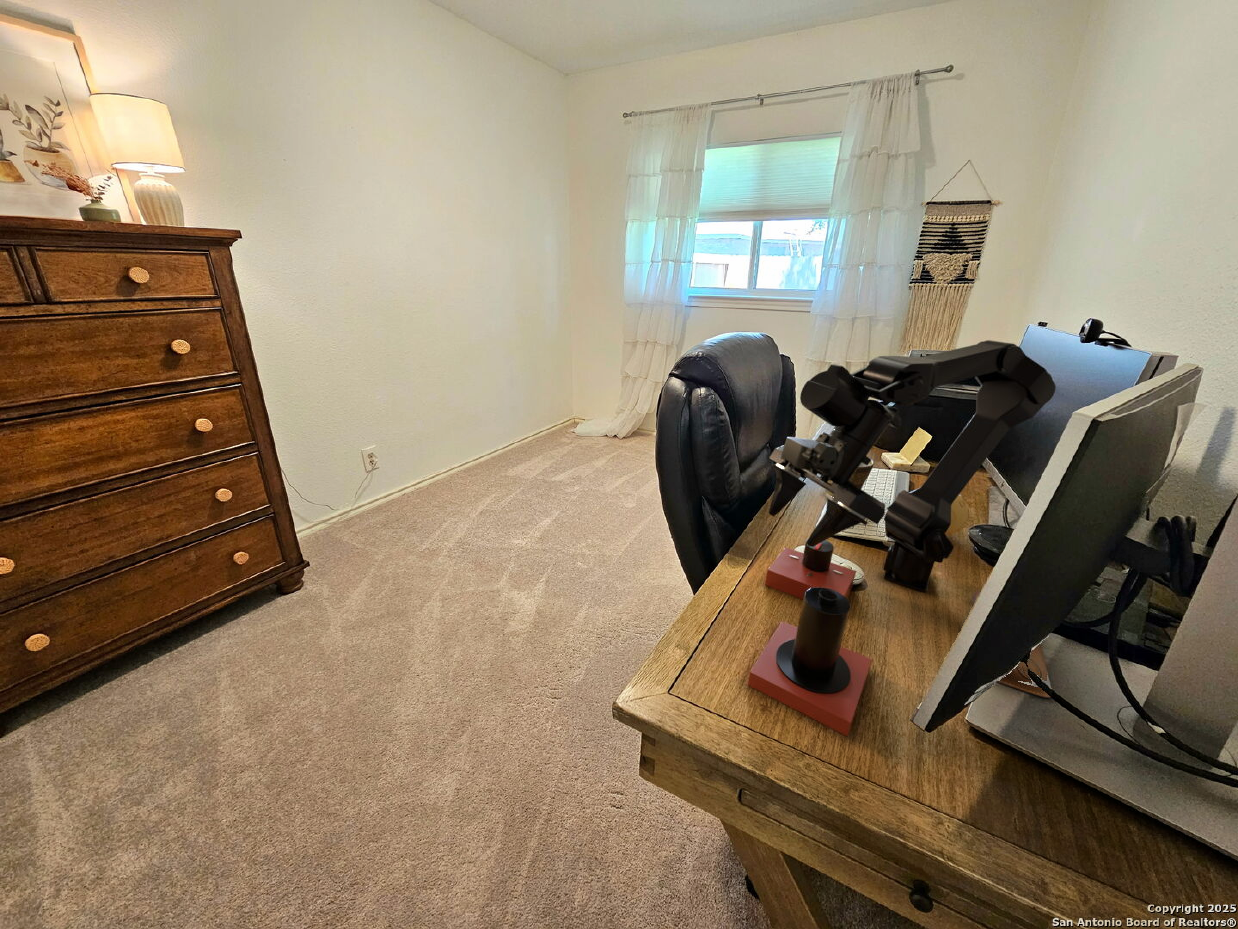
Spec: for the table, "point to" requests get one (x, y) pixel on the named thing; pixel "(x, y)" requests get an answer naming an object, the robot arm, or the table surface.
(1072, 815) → the table surface
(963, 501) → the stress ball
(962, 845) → the table surface
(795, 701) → the hot plate
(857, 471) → the ceramic cup
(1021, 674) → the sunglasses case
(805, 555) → the hob knob
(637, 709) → the table surface
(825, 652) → the black battery
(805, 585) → the control panel
